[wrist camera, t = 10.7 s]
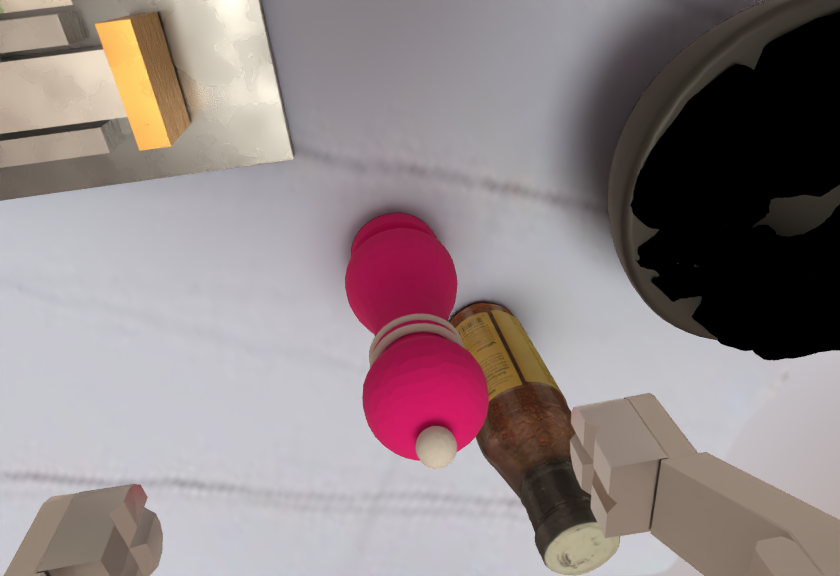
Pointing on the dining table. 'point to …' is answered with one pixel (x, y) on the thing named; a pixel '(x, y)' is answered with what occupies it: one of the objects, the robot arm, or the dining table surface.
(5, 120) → the plunger
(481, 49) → the dining table surface
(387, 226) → the pepper mill
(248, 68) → the bench
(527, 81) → the dining table surface
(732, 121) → the coal bowl
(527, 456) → the sauce bottle
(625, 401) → the robot arm
